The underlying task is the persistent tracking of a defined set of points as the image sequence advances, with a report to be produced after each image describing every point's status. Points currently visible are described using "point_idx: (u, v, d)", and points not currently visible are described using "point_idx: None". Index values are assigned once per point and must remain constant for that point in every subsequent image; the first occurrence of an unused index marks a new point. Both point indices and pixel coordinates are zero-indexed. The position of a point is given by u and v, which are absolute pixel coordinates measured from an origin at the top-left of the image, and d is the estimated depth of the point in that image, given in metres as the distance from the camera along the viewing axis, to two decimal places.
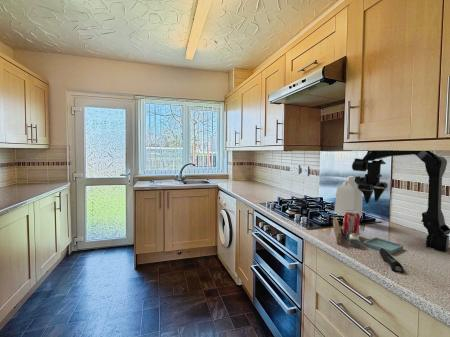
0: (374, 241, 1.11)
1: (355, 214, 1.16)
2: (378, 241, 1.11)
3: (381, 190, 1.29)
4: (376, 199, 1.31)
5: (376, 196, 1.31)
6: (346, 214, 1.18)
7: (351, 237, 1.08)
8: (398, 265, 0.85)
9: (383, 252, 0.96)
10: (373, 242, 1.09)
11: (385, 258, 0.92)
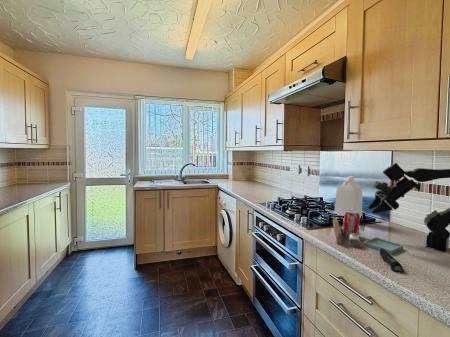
0: (374, 241, 1.11)
1: (355, 214, 1.16)
2: (378, 241, 1.11)
3: None
4: (371, 207, 1.20)
5: (373, 205, 1.20)
6: (346, 214, 1.18)
7: (351, 237, 1.08)
8: (398, 265, 0.85)
9: (383, 252, 0.96)
10: (373, 242, 1.09)
11: (385, 258, 0.92)
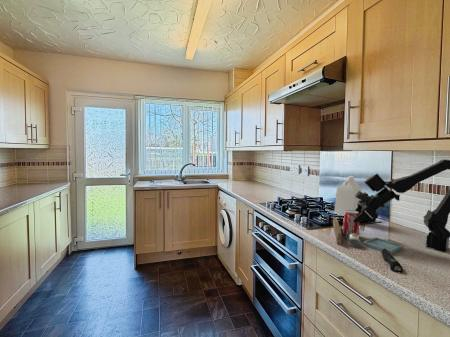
0: (374, 241, 1.11)
1: (355, 214, 1.16)
2: (378, 241, 1.11)
3: None
4: None
5: None
6: (346, 214, 1.18)
7: (351, 237, 1.08)
8: (397, 265, 0.85)
9: (385, 252, 0.96)
10: (373, 242, 1.09)
11: (386, 258, 0.92)
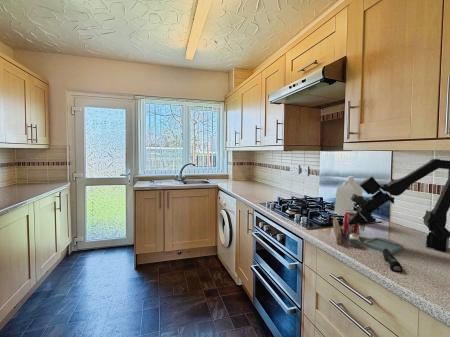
0: (374, 241, 1.11)
1: (355, 214, 1.16)
2: (378, 241, 1.11)
3: None
4: None
5: None
6: (346, 214, 1.18)
7: (351, 237, 1.08)
8: (397, 265, 0.85)
9: (386, 252, 0.96)
10: (373, 242, 1.09)
11: (386, 258, 0.92)
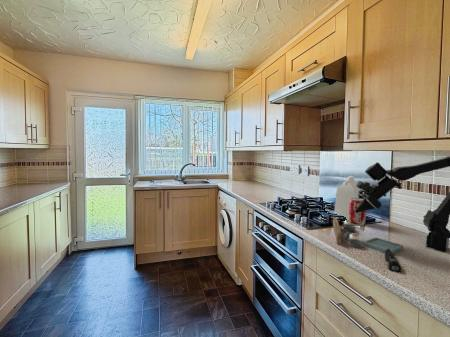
0: (374, 241, 1.11)
1: (361, 201, 1.13)
2: (378, 241, 1.11)
3: None
4: None
5: None
6: (352, 202, 1.15)
7: (351, 237, 1.08)
8: (395, 264, 0.85)
9: (387, 252, 0.96)
10: (373, 242, 1.09)
11: (386, 258, 0.92)
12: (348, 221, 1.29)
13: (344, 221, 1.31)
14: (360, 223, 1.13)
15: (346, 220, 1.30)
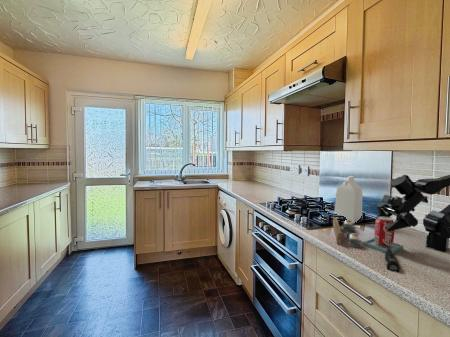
0: None
1: (392, 221, 1.03)
2: None
3: None
4: None
5: None
6: (381, 222, 1.04)
7: (351, 237, 1.08)
8: (393, 264, 0.86)
9: (387, 252, 0.96)
10: (373, 242, 1.09)
11: (386, 258, 0.93)
12: (348, 221, 1.29)
13: (344, 222, 1.31)
14: (390, 245, 1.03)
15: (346, 220, 1.30)
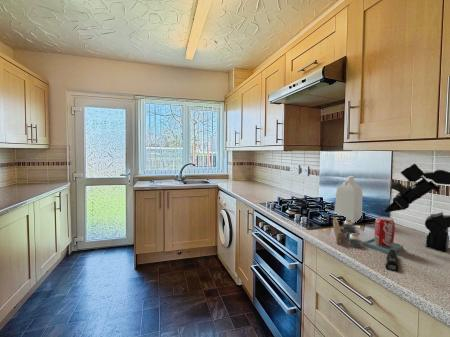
0: None
1: (392, 221, 1.03)
2: None
3: None
4: None
5: None
6: (381, 222, 1.04)
7: (351, 237, 1.08)
8: (392, 264, 0.86)
9: (389, 252, 0.96)
10: (373, 242, 1.09)
11: (387, 258, 0.93)
12: (348, 221, 1.29)
13: (344, 221, 1.31)
14: (390, 245, 1.03)
15: (346, 220, 1.30)
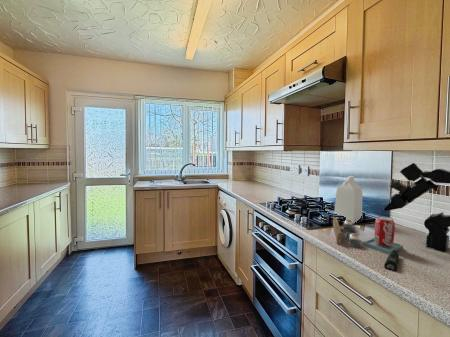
0: None
1: (392, 221, 1.03)
2: None
3: None
4: None
5: None
6: (381, 222, 1.04)
7: (351, 237, 1.08)
8: (391, 263, 0.86)
9: (391, 253, 0.95)
10: (373, 242, 1.09)
11: (388, 257, 0.93)
12: (349, 221, 1.29)
13: (344, 222, 1.31)
14: (390, 245, 1.03)
15: (347, 220, 1.30)
